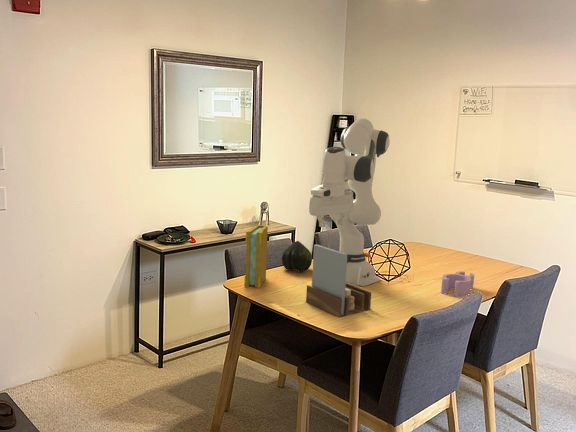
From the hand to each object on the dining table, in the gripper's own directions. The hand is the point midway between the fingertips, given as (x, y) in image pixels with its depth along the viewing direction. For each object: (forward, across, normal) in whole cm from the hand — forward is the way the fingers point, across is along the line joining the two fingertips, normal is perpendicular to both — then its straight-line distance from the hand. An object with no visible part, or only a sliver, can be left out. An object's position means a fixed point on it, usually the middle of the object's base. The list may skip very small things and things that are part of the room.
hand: (331, 225), depth 224 cm
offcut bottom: (+34, -6, 0) cm, 34 cm away
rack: (+35, -6, 0) cm, 36 cm away
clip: (+36, -71, +10) cm, 80 cm away
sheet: (+34, 0, 0) cm, 34 cm away
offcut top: (+29, -6, 0) cm, 29 cm away
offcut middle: (+31, -6, +1) cm, 32 cm away
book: (+35, +2, -47) cm, 59 cm away
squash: (+36, -27, -54) cm, 70 cm away
